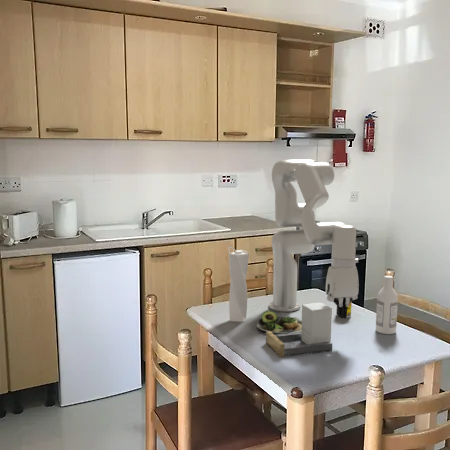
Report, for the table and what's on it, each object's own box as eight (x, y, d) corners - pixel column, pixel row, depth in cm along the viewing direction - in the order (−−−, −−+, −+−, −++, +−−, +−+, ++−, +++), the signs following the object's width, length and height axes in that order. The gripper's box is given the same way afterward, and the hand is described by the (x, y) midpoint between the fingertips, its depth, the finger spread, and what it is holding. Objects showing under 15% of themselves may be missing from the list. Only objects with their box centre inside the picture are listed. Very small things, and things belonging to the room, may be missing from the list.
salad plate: (312, 322, 188) (312, 310, 188) (310, 339, 171) (310, 326, 170) (261, 318, 192) (261, 306, 192) (254, 334, 175) (254, 322, 174)
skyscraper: (225, 321, 187) (226, 248, 183) (228, 315, 194) (229, 244, 190) (246, 323, 186) (247, 248, 181) (248, 316, 193) (249, 245, 189)
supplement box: (331, 345, 163) (332, 308, 161) (310, 348, 161) (312, 310, 159) (320, 337, 170) (321, 301, 168) (300, 340, 168) (301, 303, 166)
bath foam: (396, 329, 180) (399, 275, 177) (395, 335, 174) (399, 279, 171) (376, 327, 182) (378, 273, 180) (374, 333, 176) (377, 278, 173)
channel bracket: (265, 342, 167) (266, 331, 166) (315, 337, 172) (315, 326, 171) (279, 357, 155) (280, 344, 155) (332, 351, 160) (332, 339, 160)
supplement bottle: (337, 318, 192) (338, 292, 191) (335, 313, 198) (336, 288, 196) (351, 318, 191) (353, 292, 190) (350, 314, 197) (351, 288, 195)
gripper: (357, 259, 169) (355, 312, 171) (317, 262, 165) (316, 316, 167) (369, 263, 162) (367, 318, 164) (328, 266, 158) (326, 322, 160)
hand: (341, 317), depth 166 cm, fingers closed
